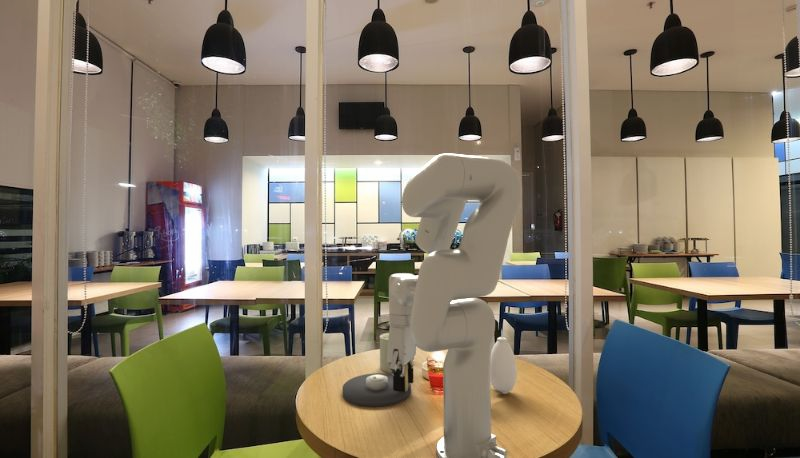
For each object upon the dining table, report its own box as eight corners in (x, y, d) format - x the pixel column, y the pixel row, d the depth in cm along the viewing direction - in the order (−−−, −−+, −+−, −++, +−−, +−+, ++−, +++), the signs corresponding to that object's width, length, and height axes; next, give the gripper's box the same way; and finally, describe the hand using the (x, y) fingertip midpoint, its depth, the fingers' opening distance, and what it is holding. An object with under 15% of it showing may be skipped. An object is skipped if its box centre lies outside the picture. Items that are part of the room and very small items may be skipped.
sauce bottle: (517, 400, 100) (516, 333, 100) (487, 396, 102) (486, 331, 102) (517, 389, 107) (516, 326, 107) (489, 385, 109) (489, 324, 110)
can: (375, 368, 124) (375, 332, 124) (400, 364, 128) (400, 329, 128) (386, 378, 116) (385, 339, 116) (412, 373, 120) (412, 336, 120)
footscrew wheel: (396, 374, 115) (396, 347, 116) (422, 399, 98) (422, 366, 98) (335, 384, 108) (335, 354, 108) (352, 412, 91) (352, 377, 91)
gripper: (402, 312, 110) (402, 373, 109) (376, 325, 94) (377, 397, 94) (426, 313, 107) (426, 377, 107) (404, 327, 91) (404, 402, 91)
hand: (403, 385), depth 100 cm, fingers open, 5 cm apart
